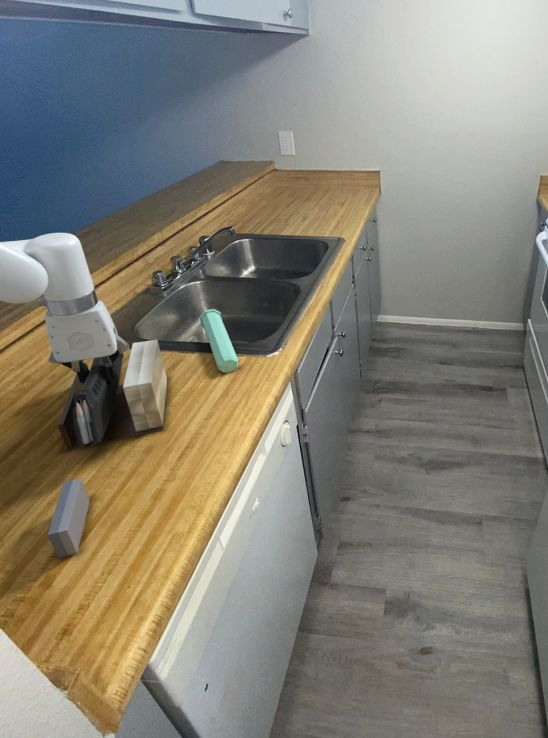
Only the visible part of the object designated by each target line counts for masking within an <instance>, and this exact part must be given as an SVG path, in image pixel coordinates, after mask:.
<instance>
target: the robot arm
mask: <svg viewBox="0 0 548 738" xmlns="http://www.w3.org/2000/svg"><path fill="white" fill-rule="evenodd" d="M42 295H43V297H42V298H40V297H41V296H42ZM97 295H98V294H97V292H96V288H95V285H94V282H93V279H92V276H91V272H90V269H89V266H88V263H87V259H86V256H85V252H84V249H83V246H82V243H81V241H80V239H79V238H78V237H77V236H76V235H74V234H73V233H69V232H52V233H46V234H41V235H39V236H36V237H34V238H31V239H30V238H29V239H21V240H12V241H11V240H9V241H0V301H1V302H4V303H8V304H27V303H30V302H34V301H35V300H36V305H37V306H38V307H46V309H47V310H46V312H45V314H44V319H45V328H46V332H47V337H48V341H49V346H50V349H51V352H50V355H49V357H48V362H49V363H53V364H57V365H62V366H63V367H65V368H69V369H71V370H72V372H74V373H76V374H77V375H78V378H79V381H80V383H83V385H84V383H85V381H86V378H87V376H88V374H89V371H90V369H89V366H88V364H87V363H86V362H84V361H85V360H93V359H94V358H99V357H101V359H102V361H103V363H104V366H103V372H104V375H105V378H106V381H107V384H112V382H113V378H114V377H116V371H115V367H114V364H113V362H114V361H115V360H116V359H117V358H118V357H119V355H121V354H123V355H124V353H126V352H127V351H129V350H130V344H129V343H128V342H126V340H124V338H122V337H121V336H120V335H118V331H117V327H116V325H115V323H114V321H113V319H112V316H111V314H110V312H109V310H108V308H107V307H106V305H105V304H104V302H103V301H102V300H101V299H100V300H99V298H98V296H97Z"/></svg>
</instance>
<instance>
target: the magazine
mask: <svg viewBox="0 0 548 738" xmlns="http://www.w3.org/2000/svg"><path fill="white" fill-rule="evenodd" d="M124 358H125V355H124V353H123V354H121V355H119V357H118V358H117V359H116V360H115V361H114V362H113V364H114V367H115V371H116V377H114V378H113V382H112V384H107V381H106V378H105V375H104V372H103V366H104V363H103V361H102V359H101V357H99V358H93V359H92V362H91V366H90V369H89V374H88V376H87V378H86V381H85V383H84V385H83V386H82V388H81V389H80V390H79V392H78V393H76V394H75V396H74V400H75V406H74V408H73V413H72V414H73V421H74V424H73V426H74V430H75V434H76V438H77V443H78V446H79V447H81V448H86V449H89V448H93V447H95V446H96V445H99V444H98V443H100V441H101V439H102V437H103V435H104V432H105V430H106V427H107V425H108V422H109V420H110V417H111V414H112V411H113V408H114V404H115V400H116V396H117V391H118V386H120V380H121V374H122V367H123V361H124ZM100 444H101V443H100ZM83 446H84V447H83Z"/></svg>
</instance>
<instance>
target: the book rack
mask: <svg viewBox="0 0 548 738" xmlns="http://www.w3.org/2000/svg"><path fill="white" fill-rule="evenodd" d="M130 349H131V350H130V354H129V357H128V358H129V359H128V362H127V367H126V372H125V376H124V381H123V385H119V386H118V391H117V396H116V400H115V404H114V408H113V411H112V414H111V417H110V420H109V422H108V425H107V427H106V430H105V432H104V435H103V437H102V439H101V441H100V443H98V444H97V445H101V444H105V443H109V442H115V441H119V440H125V439H128V438H134V437H139V436H143V435H148V434H153V433H158V432H162V431H165V423H166V414H167V413H166V412H167V402H168V401H167V400H168V390H169V379H170V378H169V377H168V376H167V373H166V369H165V365H164V360H163V357H162V353H161V348H160V345H159V341H158V339H151V340H146V341H138V342H132V345H131V348H130ZM82 386H83V383H80V381H79V378H78V375H77V373H76V374H75V376H74V379H73V382H72V384H71V388H70V389H69V393H68V395H67V398H66V400H65V403H64V406H63V409H62V411H61V414H60V417H59V419H58V422H57V428H58V430H59V433H60V435H61V438H62V440H63V443H64V445H65V446H64V449H63V451H65V452H66V451H72V450H75V449H80V448H85V447H84V446H83V447H79V446H78V443H77V438H76V434H75V430H74V426H73V424H74V421H73V414H72V413H73V408H74V406H75V400H74V396H75V394H76V393H78V392H79V390H80V389H81V388H82Z"/></svg>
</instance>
